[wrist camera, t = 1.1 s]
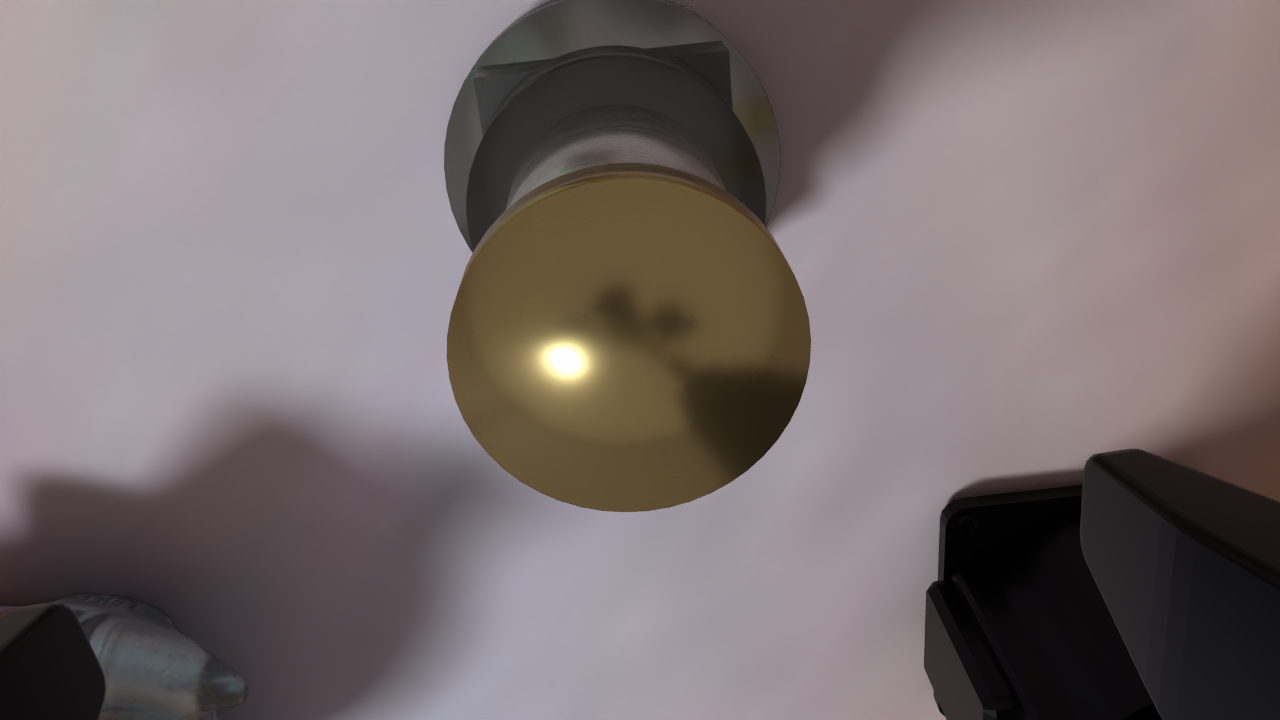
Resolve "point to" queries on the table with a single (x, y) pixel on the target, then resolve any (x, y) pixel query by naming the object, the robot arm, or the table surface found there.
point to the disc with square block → (603, 16)
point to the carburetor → (151, 662)
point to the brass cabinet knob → (623, 288)
